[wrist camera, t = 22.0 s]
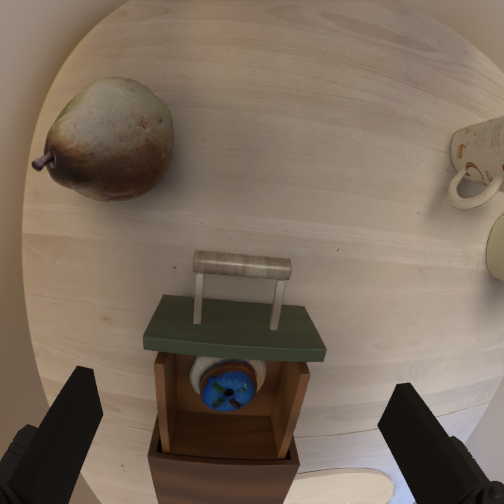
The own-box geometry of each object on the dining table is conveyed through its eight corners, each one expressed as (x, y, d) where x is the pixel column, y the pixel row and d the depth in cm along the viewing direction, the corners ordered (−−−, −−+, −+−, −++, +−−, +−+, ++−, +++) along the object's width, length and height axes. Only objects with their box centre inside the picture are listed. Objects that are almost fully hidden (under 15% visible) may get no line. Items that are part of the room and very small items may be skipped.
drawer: (165, 233, 26) (141, 257, 19) (314, 247, 28) (344, 275, 20) (166, 406, 31) (155, 456, 24) (280, 414, 33) (291, 463, 25)
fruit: (67, 168, 25) (-14, 173, 13) (109, 79, 23) (44, 35, 12) (155, 212, 27) (104, 242, 15) (202, 117, 25) (181, 79, 13)
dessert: (229, 417, 30) (206, 431, 25) (194, 370, 32) (166, 375, 27) (285, 375, 30) (273, 384, 24) (246, 327, 32) (226, 325, 27)
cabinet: (162, 395, 32) (147, 456, 23) (285, 403, 33) (300, 464, 24) (169, 466, 36) (161, 517, 27) (267, 472, 37) (274, 522, 28)
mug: (497, 159, 27) (556, 165, 18) (447, 230, 29) (509, 254, 20) (464, 104, 26) (526, 95, 16) (408, 174, 27) (474, 181, 18)
